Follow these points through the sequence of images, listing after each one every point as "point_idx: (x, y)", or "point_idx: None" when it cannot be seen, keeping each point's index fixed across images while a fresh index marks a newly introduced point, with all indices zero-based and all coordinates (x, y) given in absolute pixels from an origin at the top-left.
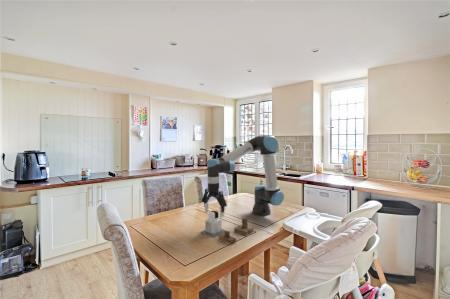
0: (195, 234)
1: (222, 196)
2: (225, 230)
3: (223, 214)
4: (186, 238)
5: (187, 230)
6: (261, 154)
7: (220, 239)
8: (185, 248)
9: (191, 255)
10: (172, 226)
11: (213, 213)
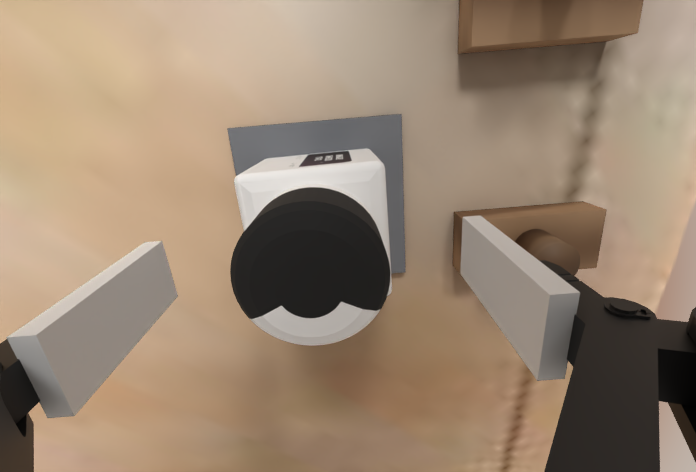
0: None
1: None
2: (394, 117)
3: (492, 229)
4: (273, 392)
5: (158, 324)
6: None
7: None
8: (375, 450)
9: (455, 463)
10: None
11: (359, 322)
